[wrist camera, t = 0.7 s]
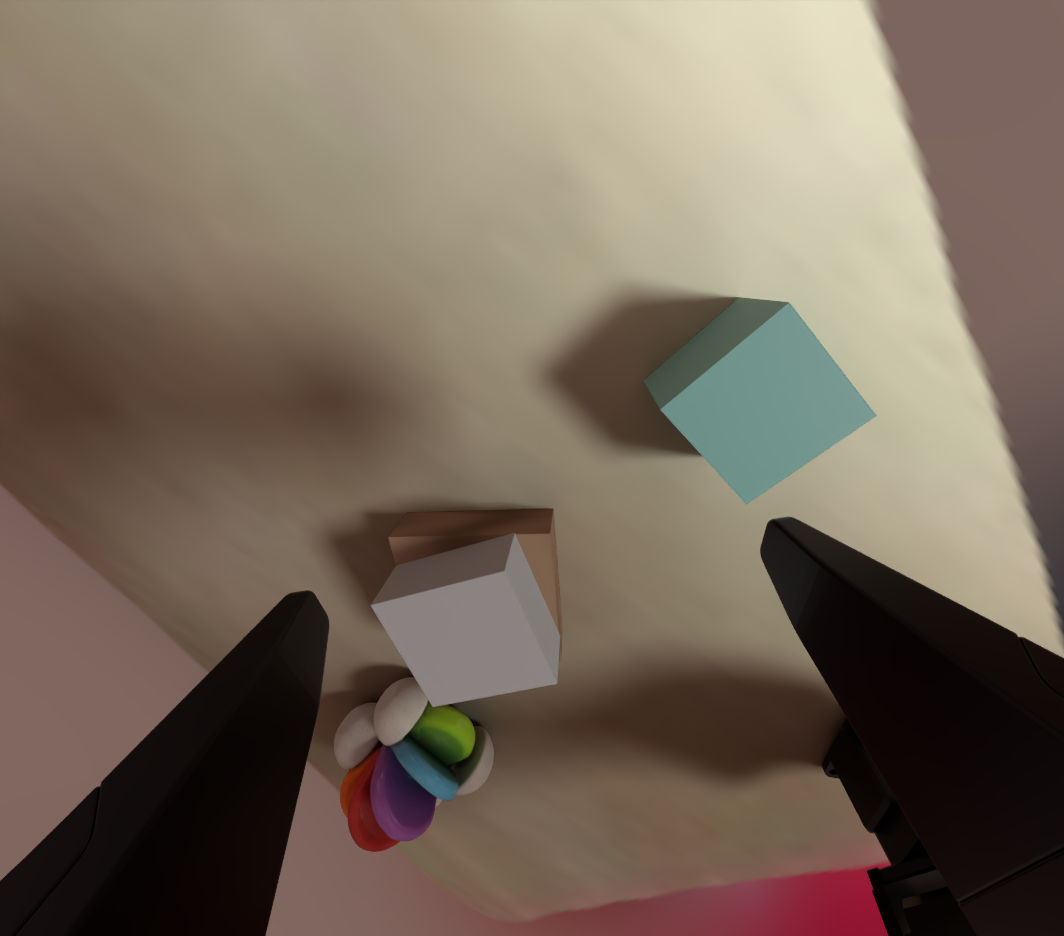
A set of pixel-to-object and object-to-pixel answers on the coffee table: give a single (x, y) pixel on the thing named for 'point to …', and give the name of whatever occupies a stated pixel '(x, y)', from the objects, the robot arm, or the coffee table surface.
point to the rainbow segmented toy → (406, 764)
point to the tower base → (465, 528)
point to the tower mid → (471, 622)
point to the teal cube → (757, 395)
